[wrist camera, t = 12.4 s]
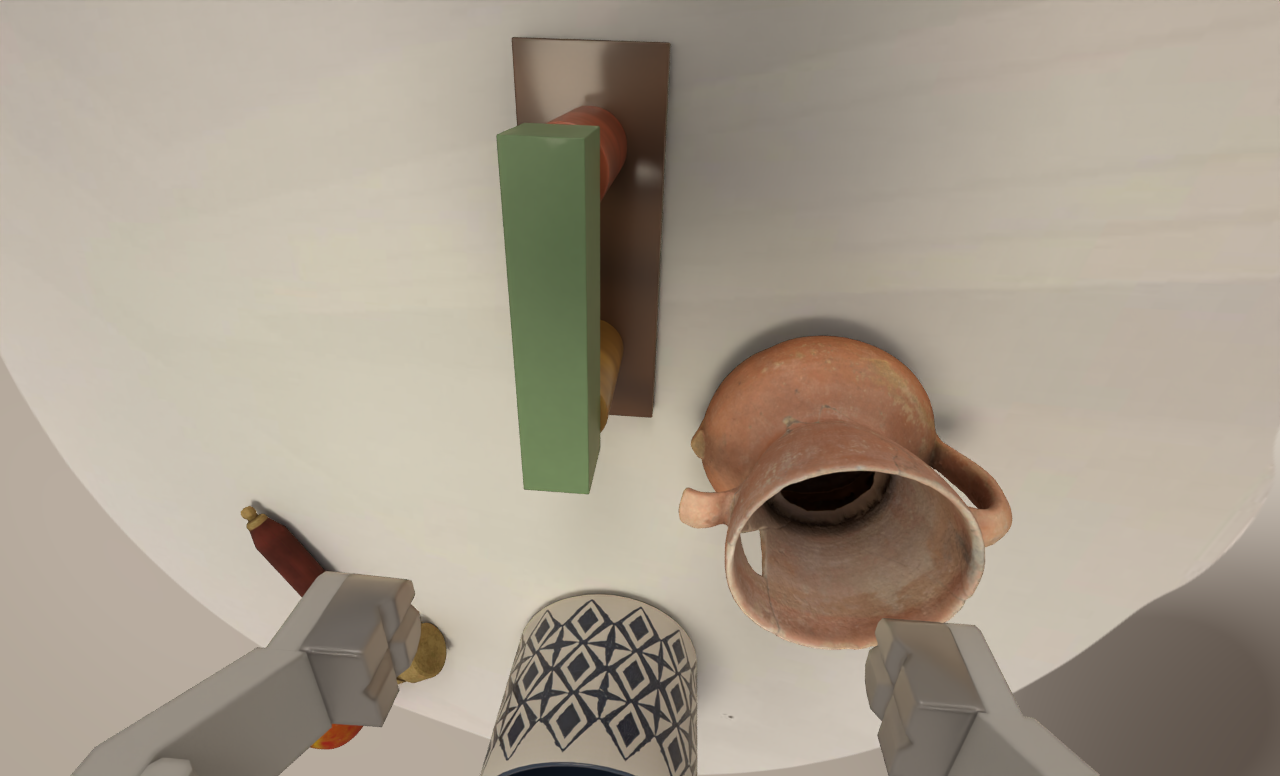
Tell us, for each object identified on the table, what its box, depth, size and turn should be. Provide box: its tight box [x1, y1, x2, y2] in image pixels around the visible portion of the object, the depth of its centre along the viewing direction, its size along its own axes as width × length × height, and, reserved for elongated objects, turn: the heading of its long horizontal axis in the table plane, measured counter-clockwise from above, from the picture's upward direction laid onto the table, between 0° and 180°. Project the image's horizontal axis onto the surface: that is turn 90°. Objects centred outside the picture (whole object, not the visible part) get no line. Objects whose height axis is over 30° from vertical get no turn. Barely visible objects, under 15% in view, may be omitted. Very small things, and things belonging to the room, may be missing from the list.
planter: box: [480, 594, 697, 776], centre depth 49 cm, size 16×16×14 cm
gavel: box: [241, 506, 446, 684], centre depth 52 cm, size 21×5×10 cm
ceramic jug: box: [679, 336, 1012, 650], centre depth 36 cm, size 18×14×14 cm
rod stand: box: [512, 37, 671, 433], centre depth 33 cm, size 22×8×10 cm, turn 178°
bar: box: [496, 123, 600, 494], centre depth 27 cm, size 16×3×4 cm, turn 178°
